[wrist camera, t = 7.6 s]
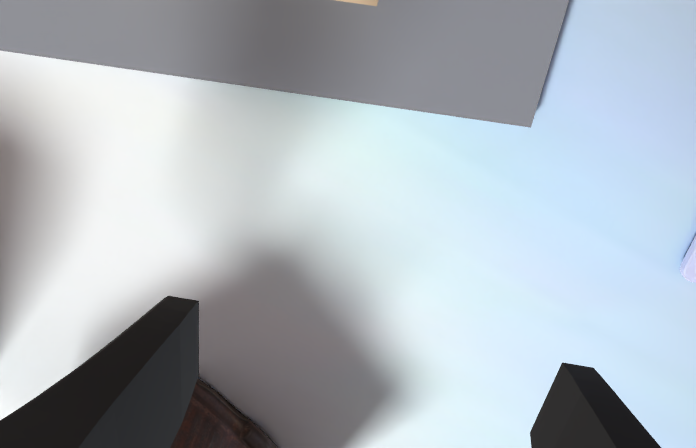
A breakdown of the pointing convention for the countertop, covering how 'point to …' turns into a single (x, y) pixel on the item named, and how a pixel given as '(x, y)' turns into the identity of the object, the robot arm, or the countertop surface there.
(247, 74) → the slate mat
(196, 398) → the coffee grinder
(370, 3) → the oak base
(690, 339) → the countertop surface
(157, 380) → the robot arm
